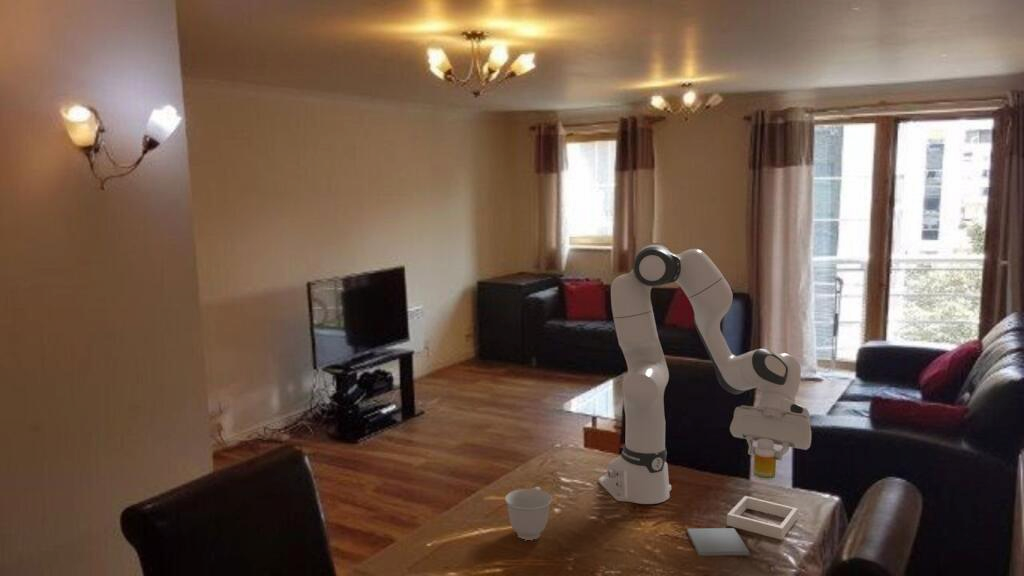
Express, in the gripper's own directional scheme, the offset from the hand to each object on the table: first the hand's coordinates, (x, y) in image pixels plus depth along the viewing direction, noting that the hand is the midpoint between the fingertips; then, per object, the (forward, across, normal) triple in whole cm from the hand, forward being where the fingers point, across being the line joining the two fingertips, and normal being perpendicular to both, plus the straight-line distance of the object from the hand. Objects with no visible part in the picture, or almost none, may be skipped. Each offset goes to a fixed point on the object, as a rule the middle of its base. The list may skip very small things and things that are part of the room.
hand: (764, 456), depth 192 cm
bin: (+12, 0, +13) cm, 18 cm away
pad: (+25, -6, +1) cm, 26 cm away
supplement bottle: (+4, 0, +5) cm, 6 cm away
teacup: (+39, -48, -13) cm, 64 cm away
